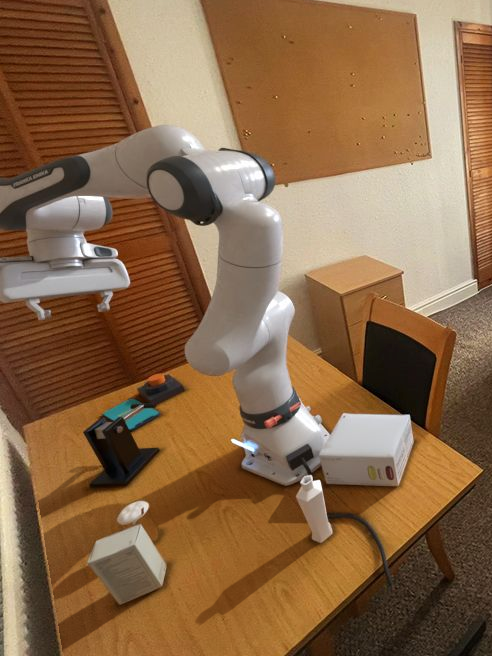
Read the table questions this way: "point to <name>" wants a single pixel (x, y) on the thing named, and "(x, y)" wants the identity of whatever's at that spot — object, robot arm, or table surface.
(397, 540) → the table surface
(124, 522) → the milkshake
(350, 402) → the table surface
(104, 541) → the cosmetic box
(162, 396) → the control box
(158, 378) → the button
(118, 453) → the bracket
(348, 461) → the supplement box
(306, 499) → the perfume bottle
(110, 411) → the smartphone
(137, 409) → the lever
